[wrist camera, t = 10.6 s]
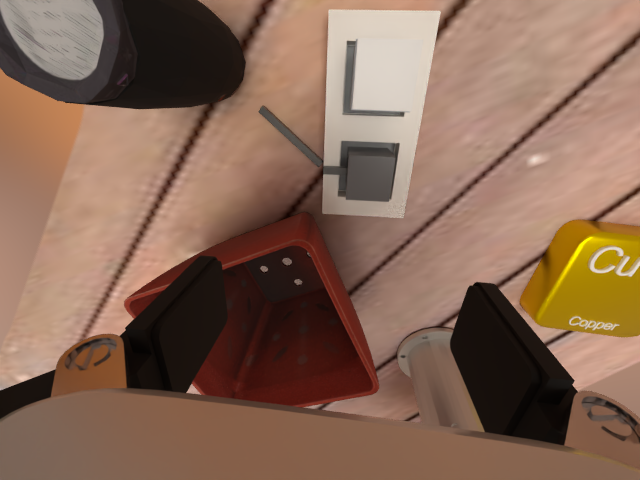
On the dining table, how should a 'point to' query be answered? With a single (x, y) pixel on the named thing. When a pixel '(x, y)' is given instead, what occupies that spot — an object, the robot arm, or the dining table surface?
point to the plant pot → (280, 321)
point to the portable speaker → (120, 52)
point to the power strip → (367, 118)
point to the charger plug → (384, 74)
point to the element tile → (588, 280)
